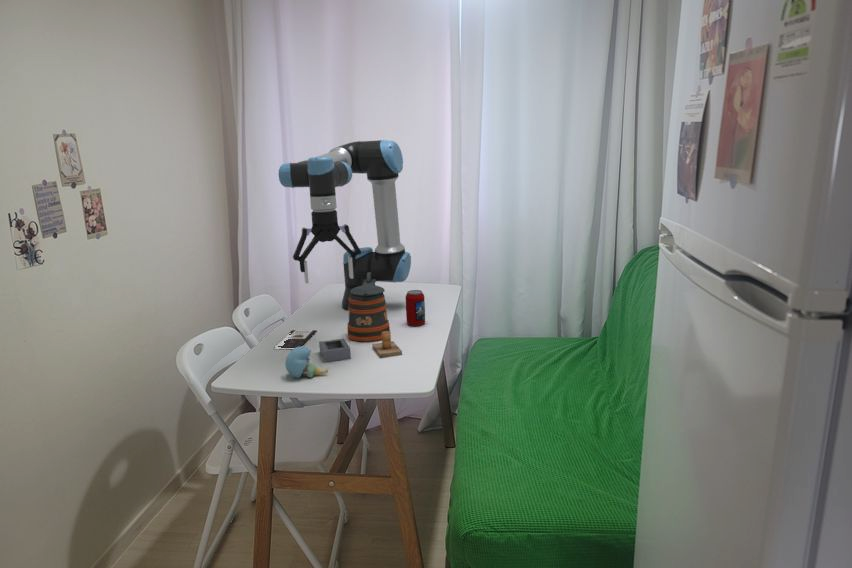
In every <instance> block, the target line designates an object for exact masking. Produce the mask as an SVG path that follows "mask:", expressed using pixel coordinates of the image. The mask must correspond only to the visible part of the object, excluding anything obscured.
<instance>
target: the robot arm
mask: <svg viewBox="0 0 852 568" xmlns="http://www.w3.org/2000/svg"><path fill="white" fill-rule="evenodd" d="M403 157H404V156H403V154H402V150H401V148H400V146H399V144H398V143H397V142H395V141H394V140H385V139H383V140H382V139H380V140H364V141H362V140H361V141H360V140H359V141H353V142H349V143H345V144H342V145H339V146H336V147H333V148H332V149H330V150H329V152H327V153H324V154H321V155H318V156H313V157H308V159H305V160H302V161H298V162H287V163H282V164H281V165H280V166H279V169H278V180H279V182H280V184H281V186H282V187H284V188H292V189H295V188H309V199H310V201H309V203H310V209H311V210H312V212H311V223H312V224H311V227H310V228H306V227H302V228H301V236H300V238H299V241H298V243H297V246H296V248H295V251H294V253H293V254H292V255H293V256H292V259H293V260H294V261H297V262H299V270H300V272H301V273H303V274H304V275H303V276H304V283H305V284H309V282H310V281H309V272H308V261H307V260H306V259H307V258H308V256H309V255H310V253H311V252H312V251H313V249H314V248H315V247H316V245H318V243H320V242H321V243H325V242H333V241H334V240H335V241H336V242H337V243H338V244H339V245H340V246H341V247H342V249H344V251H345V252H344V253H343V259H342V260H343V262H342V265H343V275H344V287H345V289H344V293H343V297H342V301H341V306H342V308H343V309H344V310H345V311H346V310H347V311H349V310H348V305H349V296H350V291H351V290H352V289H353V288H355V287H358V286H362V284H363V283H364V280H365V279H367V273H368V272H371V278H372V279H376V282H380V283H382V282H384V283H385V282H386V283H404V282H405V281H407V279H408V277H409V274H410V271H411V265H412V256H411V253H410V252H409V251H406V248H405V246H404V244H402V243H401V237H400V236H401V235H400V223H399V211H398V202H397V200H398V199H397V189H396V188H397V187H396V181H397V180H398V178H399V177H400V175H399V174H401V172H403V168H404V159H403ZM353 174H363V175H364V174H366V178H367V181H368V182H370V183H371V186H372V187H371V188H372V189H371V190H372V199H373V207H374V208H373V209H374V219H375V226H376V227H375V228H376V236H377V246H376V247H375V248H374V249H373V247H369V246H367V247H365V246H364V247H359V245H358V244H357V242H356V241H355V239H354V236H353V235H352V234H351V231H350V226H349V225H348V224H346V223H344V224H343V225H339V223H338V219H339V218H338V211H337V210H336V208H337V207H338V206H337V197H336V196H337V195H336V192H337V191H336V188H338V187H344V186H346V185H347V184H349V183H350V182H351V180H352V178H353ZM340 231H341V232H342V233H344V234H345V236H346V238H347V239H348V241H349V242H350V245H351V246H352V248H353V249H351V248H350V247H349V246H348V245H347V244H346V243H345V242H344V240H342V239H341V237H339V236H338V234H339V233H340ZM310 233H312V235H313V238H312V239H311V241H310V242H309V244H308V245H307V246H306V248H305V249H304V251H303V252H302V250H303V247H304V245H305V242H306V240H307V237H308V236H309V235H310ZM301 252H302V254H301Z"/></svg>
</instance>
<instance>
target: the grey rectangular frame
mask: <svg viewBox="0 0 852 568" xmlns="http://www.w3.org/2000/svg"><path fill="white" fill-rule="evenodd" d="M318 345H319V353H320V355H321V358H322V360H323V361H325V362H324V363H325V364H326V362H327V363H333V362H339V361H346V360H351V359H352V356H351V355H352V353H351V347H350V346H349V344H348V343H347V341H346V339H345V338H337V339H329V340H322V341H318Z"/></svg>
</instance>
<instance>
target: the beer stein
mask: <svg viewBox="0 0 852 568" xmlns="http://www.w3.org/2000/svg"><path fill="white" fill-rule="evenodd" d="M376 283H377V281H376V279H372V278H371V272H368V273H367V279H365V280H364V283H363V284H362V286H358V287H355V288H353V289H352V290H351V291H350V296H349V305H348V310H347V311H348V322H347V338H349V340H352V341H354V342H358V343H359V342H360V343H370V342H376V341H377V342H378V341H382V332H384V331H389V332H390V333H391V329H390V321H389V319H388V314H387V303H386V302H387V301H386V299H385V298H386V297H385V294H384V292H385V291H386V290H385V288H383V287H382V286H379V285H376Z"/></svg>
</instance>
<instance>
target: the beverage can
mask: <svg viewBox="0 0 852 568" xmlns="http://www.w3.org/2000/svg"><path fill="white" fill-rule="evenodd" d="M425 307H426V303H425V295H424V293H423V290H420V289H411V290H408V291H407V292H406V294H405V313H406V314H405V315H406V316H405V317H406V323H407V324H408V325H410V326H411V327H418V326H419V325H420V326H422V325H423V324H425V323H426V308H425Z"/></svg>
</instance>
